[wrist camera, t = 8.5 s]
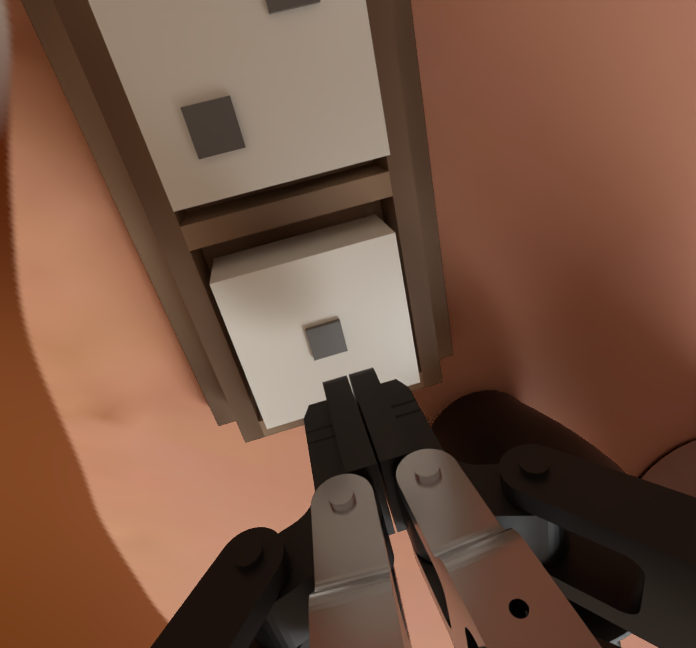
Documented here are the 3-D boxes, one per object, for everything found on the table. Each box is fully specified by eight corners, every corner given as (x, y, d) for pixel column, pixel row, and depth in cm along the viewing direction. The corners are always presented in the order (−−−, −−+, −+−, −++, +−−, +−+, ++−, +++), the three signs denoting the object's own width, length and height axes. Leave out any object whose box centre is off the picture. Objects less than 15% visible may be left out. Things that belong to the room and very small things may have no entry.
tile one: (375, 214, 17) (397, 234, 14) (400, 349, 20) (422, 385, 17) (213, 258, 16) (209, 286, 14) (264, 390, 19) (267, 432, 17)
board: (308, -709, 9) (335, -1020, 7) (444, 344, 22) (472, 378, 19) (-262, -650, 8) (-487, -980, 6) (219, 412, 21) (216, 457, 18)
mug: (449, 543, 29) (533, 726, 21) (381, 413, 23) (459, 595, 15) (567, 486, 29) (699, 647, 20) (528, 341, 23) (692, 483, 15)
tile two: (324, -97, 12) (345, -144, 9) (368, 145, 15) (392, 155, 12) (91, -47, 11) (51, -83, 9) (184, 193, 14) (172, 213, 12)
